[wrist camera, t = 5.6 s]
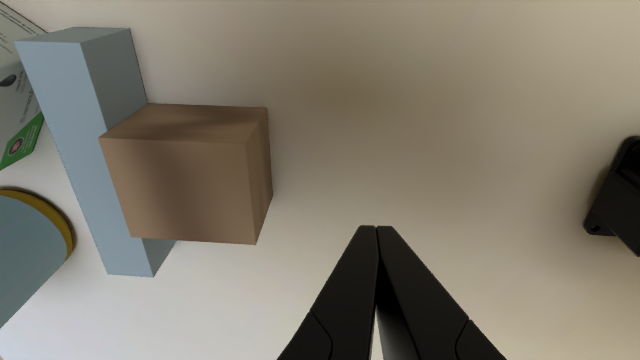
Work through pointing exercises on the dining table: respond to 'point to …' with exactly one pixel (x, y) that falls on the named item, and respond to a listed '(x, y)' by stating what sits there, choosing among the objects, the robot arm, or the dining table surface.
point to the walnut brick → (192, 172)
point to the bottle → (28, 248)
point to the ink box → (16, 91)
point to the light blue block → (92, 129)
